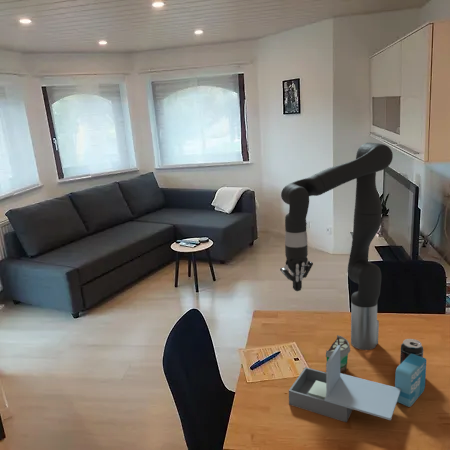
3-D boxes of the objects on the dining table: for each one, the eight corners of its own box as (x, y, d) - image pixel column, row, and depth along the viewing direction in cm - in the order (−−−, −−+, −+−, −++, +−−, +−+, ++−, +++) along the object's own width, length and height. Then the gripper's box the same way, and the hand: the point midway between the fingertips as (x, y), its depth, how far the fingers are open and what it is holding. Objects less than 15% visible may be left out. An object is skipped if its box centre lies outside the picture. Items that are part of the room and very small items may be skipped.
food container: (343, 382, 146) (343, 355, 144) (325, 377, 150) (325, 351, 147) (354, 363, 156) (354, 338, 154) (337, 359, 160) (337, 334, 157)
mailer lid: (324, 400, 130) (324, 366, 127) (339, 374, 142) (339, 342, 139) (390, 420, 120) (392, 383, 117) (400, 390, 132) (402, 355, 129)
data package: (408, 409, 132) (410, 374, 129) (393, 403, 135) (395, 368, 132) (425, 390, 140) (427, 356, 137) (410, 384, 143) (412, 351, 140)
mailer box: (289, 404, 137) (288, 390, 136) (305, 380, 149) (305, 367, 148) (346, 422, 128) (346, 407, 127) (359, 395, 140) (359, 381, 138)
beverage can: (417, 383, 143) (419, 350, 140) (396, 376, 148) (397, 344, 145) (424, 373, 148) (426, 341, 145) (404, 366, 153) (405, 335, 149)
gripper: (287, 249, 144) (288, 298, 149) (318, 241, 150) (319, 289, 155) (273, 244, 151) (275, 291, 155) (304, 236, 157) (305, 282, 161)
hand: (297, 290), depth 155 cm, fingers closed
